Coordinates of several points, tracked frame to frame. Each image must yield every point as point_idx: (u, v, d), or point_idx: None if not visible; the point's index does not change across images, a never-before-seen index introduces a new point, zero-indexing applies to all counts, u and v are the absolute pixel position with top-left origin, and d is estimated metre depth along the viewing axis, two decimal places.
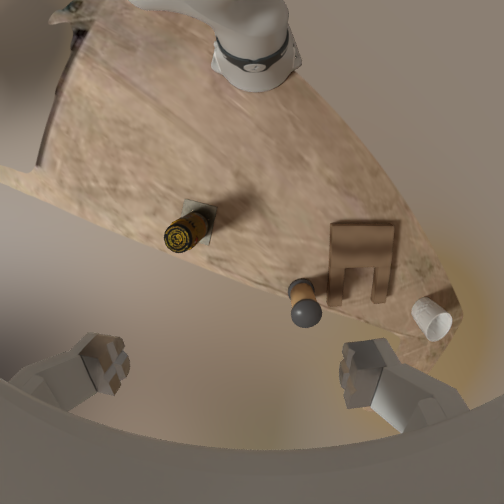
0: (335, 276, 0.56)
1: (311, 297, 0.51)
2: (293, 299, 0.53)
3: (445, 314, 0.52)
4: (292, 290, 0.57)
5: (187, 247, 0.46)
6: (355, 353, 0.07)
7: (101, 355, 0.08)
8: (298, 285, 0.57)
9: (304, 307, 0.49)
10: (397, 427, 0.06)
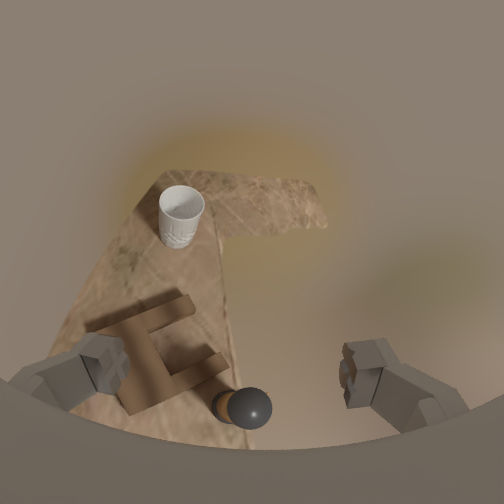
0: (186, 382, 0.37)
1: (226, 409, 0.32)
2: None
3: (165, 201, 0.47)
4: None
5: None
6: (355, 353, 0.07)
7: (101, 355, 0.08)
8: (223, 419, 0.35)
9: (242, 418, 0.29)
10: (397, 427, 0.06)
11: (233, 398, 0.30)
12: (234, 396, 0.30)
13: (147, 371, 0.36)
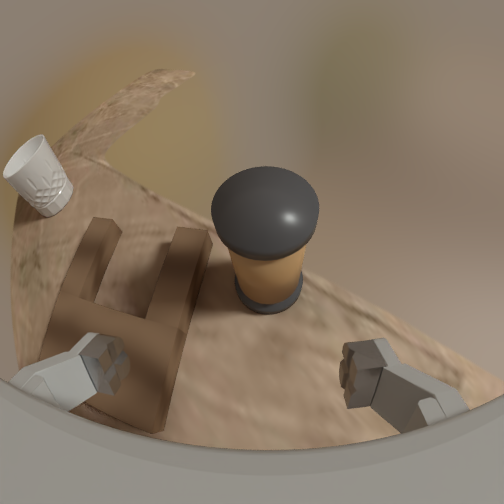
0: (171, 304, 0.21)
1: (240, 261, 0.16)
2: (298, 264, 0.17)
3: None
4: (292, 289, 0.21)
5: None
6: (355, 353, 0.07)
7: (101, 355, 0.08)
8: (274, 300, 0.21)
9: (269, 229, 0.14)
10: (397, 427, 0.06)
11: (216, 216, 0.14)
12: (215, 212, 0.14)
13: None
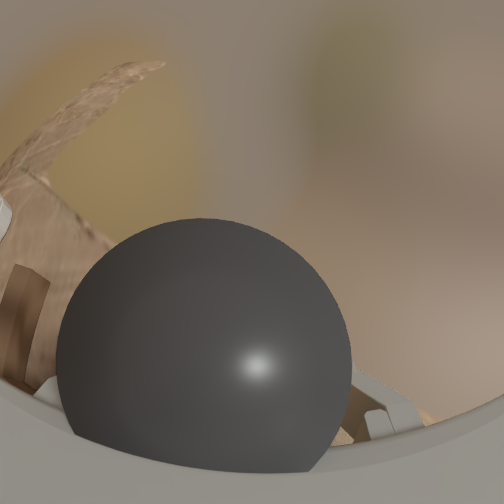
0: None
1: None
2: None
3: None
4: None
5: None
6: None
7: None
8: None
9: (189, 454, 0.03)
10: (353, 436, 0.06)
11: (64, 381, 0.04)
12: (62, 367, 0.04)
13: None
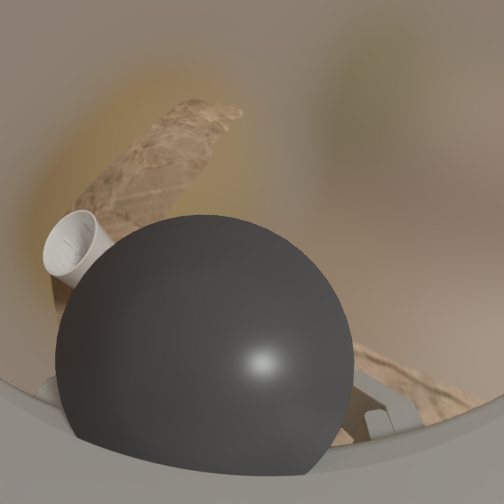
0: None
1: None
2: None
3: (58, 262, 0.25)
4: None
5: None
6: None
7: None
8: None
9: (189, 452, 0.03)
10: (353, 436, 0.06)
11: (64, 379, 0.04)
12: (61, 365, 0.04)
13: None
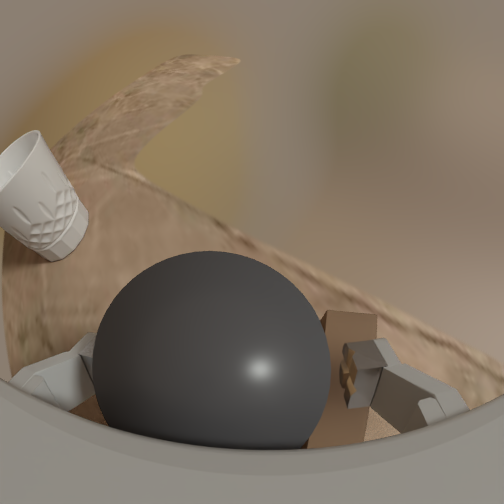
0: (345, 441, 0.11)
1: None
2: None
3: None
4: None
5: None
6: (355, 353, 0.07)
7: None
8: None
9: (206, 438, 0.05)
10: (397, 427, 0.06)
11: (101, 385, 0.05)
12: (98, 374, 0.05)
13: None
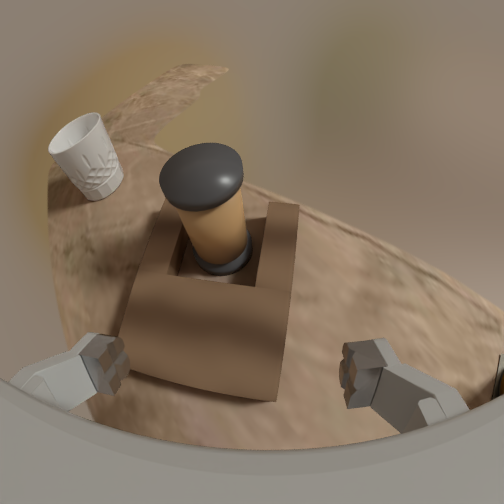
0: (281, 270, 0.23)
1: (184, 217, 0.19)
2: (235, 221, 0.21)
3: None
4: (239, 249, 0.24)
5: None
6: (355, 353, 0.07)
7: (101, 355, 0.08)
8: (222, 259, 0.24)
9: (200, 186, 0.17)
10: (397, 427, 0.06)
11: (162, 180, 0.17)
12: (161, 178, 0.18)
13: (223, 316, 0.21)
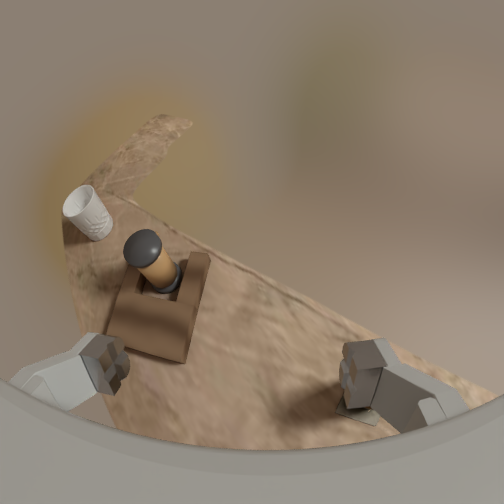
0: (190, 293, 0.41)
1: (137, 268, 0.37)
2: (162, 269, 0.39)
3: (71, 214, 0.46)
4: (170, 280, 0.42)
5: None
6: (355, 353, 0.07)
7: (101, 355, 0.08)
8: (162, 286, 0.42)
9: (140, 257, 0.35)
10: (397, 427, 0.06)
11: (124, 252, 0.36)
12: (124, 250, 0.36)
13: (159, 316, 0.40)
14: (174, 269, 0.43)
